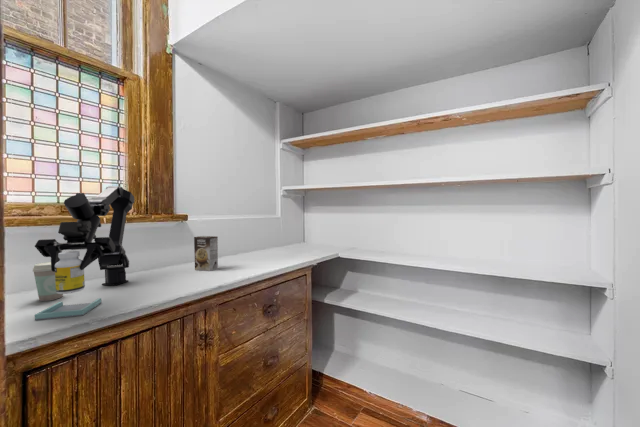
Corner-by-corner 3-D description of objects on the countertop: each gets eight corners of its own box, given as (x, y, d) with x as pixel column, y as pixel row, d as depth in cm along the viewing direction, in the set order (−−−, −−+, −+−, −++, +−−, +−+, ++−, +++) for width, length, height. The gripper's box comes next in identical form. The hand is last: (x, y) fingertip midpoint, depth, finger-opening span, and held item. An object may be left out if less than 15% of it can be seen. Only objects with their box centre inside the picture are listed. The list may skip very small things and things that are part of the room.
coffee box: (194, 270, 136) (193, 237, 136) (203, 267, 142) (202, 235, 142) (210, 271, 133) (209, 237, 133) (218, 268, 140) (217, 235, 139)
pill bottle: (54, 291, 83) (52, 252, 83) (82, 286, 88) (80, 249, 88) (58, 296, 79) (55, 255, 79) (87, 290, 84) (85, 251, 84)
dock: (59, 306, 87) (59, 301, 87) (101, 302, 90) (101, 298, 90) (34, 320, 77) (34, 314, 77) (82, 315, 80) (82, 310, 80)
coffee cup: (38, 304, 90) (36, 266, 90) (30, 299, 95) (28, 264, 95) (72, 296, 98) (70, 262, 97) (63, 292, 102) (61, 259, 102)
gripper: (37, 212, 84) (10, 256, 74) (110, 211, 89) (94, 251, 79) (55, 236, 92) (33, 278, 82) (121, 233, 97) (108, 273, 87)
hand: (67, 270), depth 82 cm, fingers closed on pill bottle, 6 cm apart
